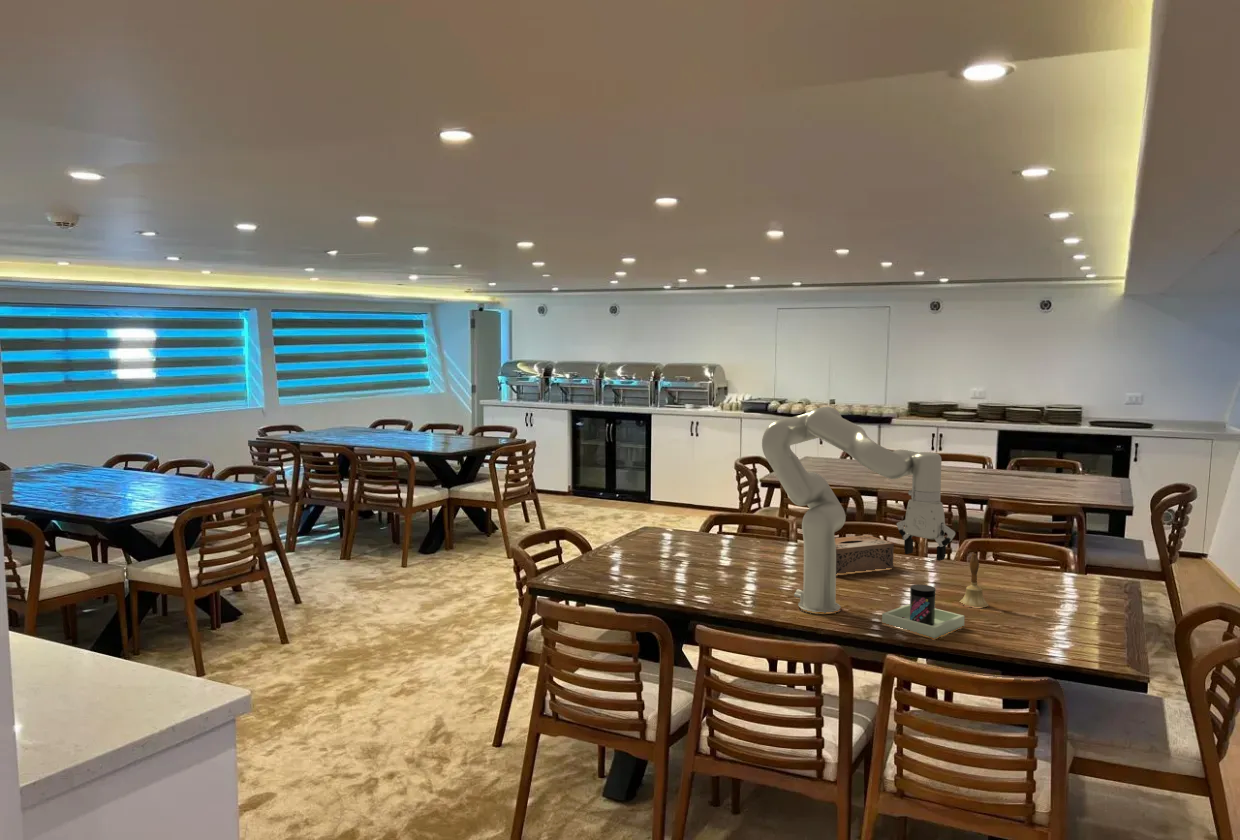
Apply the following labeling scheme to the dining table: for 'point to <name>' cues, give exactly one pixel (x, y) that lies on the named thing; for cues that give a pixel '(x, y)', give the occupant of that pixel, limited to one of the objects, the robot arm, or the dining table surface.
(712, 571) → the dining table surface
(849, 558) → the tissue box cover
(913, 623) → the tray
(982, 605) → the hand bell
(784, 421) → the robot arm
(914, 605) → the supplement container
